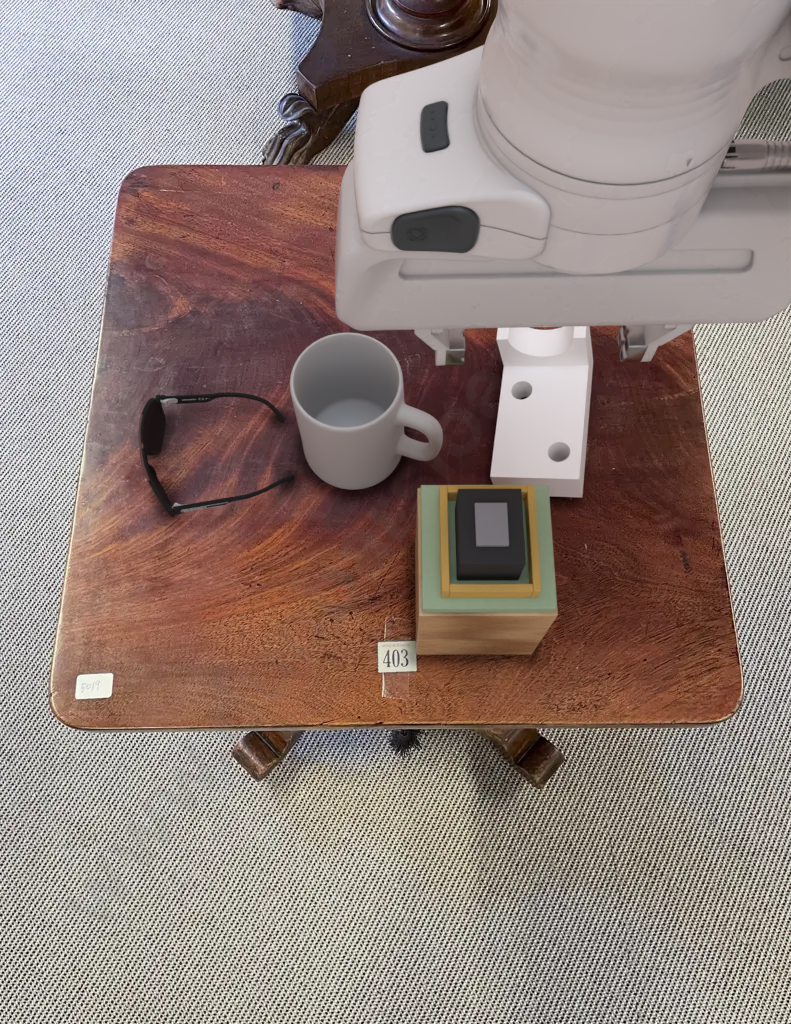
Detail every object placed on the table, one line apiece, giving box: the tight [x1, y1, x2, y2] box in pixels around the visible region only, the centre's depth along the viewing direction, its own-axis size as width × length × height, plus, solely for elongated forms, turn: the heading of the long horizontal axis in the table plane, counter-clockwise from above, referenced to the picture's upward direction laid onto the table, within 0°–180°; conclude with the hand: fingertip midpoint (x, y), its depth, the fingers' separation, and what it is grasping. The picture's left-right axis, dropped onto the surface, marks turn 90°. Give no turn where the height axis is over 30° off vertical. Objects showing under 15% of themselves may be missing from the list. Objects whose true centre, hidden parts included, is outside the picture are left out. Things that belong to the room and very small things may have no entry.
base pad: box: [420, 484, 558, 612], centre depth 56 cm, size 9×9×2 cm
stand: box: [414, 487, 559, 656], centre depth 63 cm, size 9×9×12 cm
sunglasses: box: [137, 391, 295, 519], centre depth 71 cm, size 10×12×5 cm
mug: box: [289, 332, 444, 491], centre depth 68 cm, size 12×8×11 cm
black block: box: [455, 489, 526, 580], centre depth 54 cm, size 4×5×4 cm
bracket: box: [489, 326, 594, 498], centre depth 71 cm, size 13×7×8 cm, turn 171°
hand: (540, 352), depth 44 cm, fingers open, 8 cm apart
